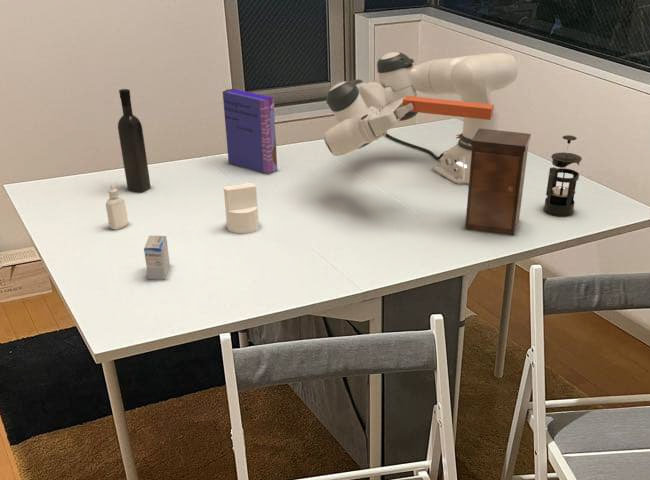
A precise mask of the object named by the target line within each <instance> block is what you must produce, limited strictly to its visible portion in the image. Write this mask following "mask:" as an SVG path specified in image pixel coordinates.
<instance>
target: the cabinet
mask: <svg viewBox="0 0 650 480" xmlns="http://www.w3.org/2000/svg"><path fill="white" fill-rule="evenodd" d="M531 135H532V133H527V132H526V133H525V132H518V131H508V130H498V129H497V130H490V129H480V128H479V129H478V131H477V132H476V134H475V135H474V137H473V139H472V140H471V146H472V154H471V166H470V178H469V184H468V190H467V191H468V192H467V202H466V203H467V204H466V214H465V215H466V216H465V227H464V230H470V231H476V232H477V231H478V232H485V233H491V234H492V233H493V234H500V235H507V236H515V234H516V231H517V228H518V225H519V222H520V215H521V207H522V200H523V192H524V183H525V175H526V169H527V159H528V151H529V144H530V141H531Z"/></svg>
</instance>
